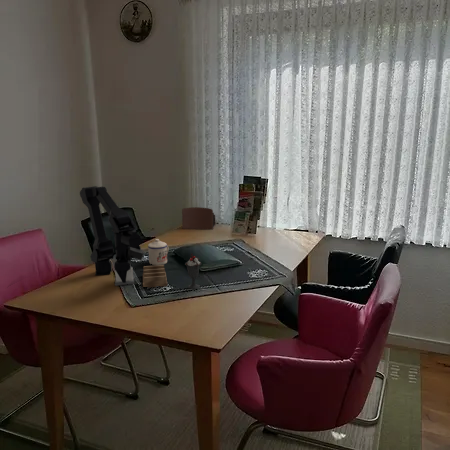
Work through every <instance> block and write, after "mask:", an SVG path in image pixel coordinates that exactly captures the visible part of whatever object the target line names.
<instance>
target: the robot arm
mask: <svg viewBox="0 0 450 450" xmlns="http://www.w3.org/2000/svg"><path fill="white" fill-rule="evenodd" d="M79 195H80V198H81V200H82V204H83V205H85V206H86V208H87V209H88V213H89V217H90V223H91V227H92V231H93V234H94V242H93V244H92V248H93V251H92V252H91V255H90V256H89V257H90V261H92V262H93V263H94V265H95V267H94V268H95V276H104V275H111V272H112V271H113V266H112V264H113V263H112V261H111V260H112V259H114V253H115V260H116V261H115V262H114V272H115V271H116V272H117V273H118V275H119V277H120V278H121V280H122V282H123V283H125V282H126V276H127V271H128V270H130V269H131V267H132V266H131V260H132V259H135V260H138V261H142V259H143V256H144V254H145V253H144V250H143V249H142V247H141V244H142V237H141V236H140V234H138V233H137V231H136V227H135V224H134V222H133V220H132V218H131V216H130V215H129V213H128V212H127V211H126V210H125V209H123V208H120V207H119V206H118V205H117V203H116V202H115V201H114V199H113V198H112V196H111V195H110V193H109V192H108V191H107V188H106V187H105V186H97V185H94V186H93V185H92V186H86V187H82V188H81V190H79ZM100 204H101V206H102V207H103V209H104V210H105V212H106V213H107V214H108V221H109V224H110V225H111V227H112V229H111V232H113V235H114V236H113V237H114V244H113V241H112V240H111V239H109V238H108V237H107V234H106V230H105V225H104V220H103V216H102V212H101V207H100Z"/></svg>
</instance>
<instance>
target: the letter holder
mask: <svg viewBox="0 0 450 450" xmlns="http://www.w3.org/2000/svg"><path fill="white" fill-rule="evenodd" d="M213 211H214V210H213V209H212V208H210V207H199V206H197V207H195V206H194V207H185V208H182V209H181V213H182V216H181V219H182V220H181V221H182V226H181V227H182V230H214V229H215V227H216V225H217V223H216V214H215V212H213Z"/></svg>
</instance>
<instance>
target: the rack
mask: <svg viewBox="0 0 450 450" xmlns="http://www.w3.org/2000/svg"><path fill="white" fill-rule="evenodd" d="M142 268H143V273H142V288H143V287H148V288H157V287H156V286H160V287H168V285H169V284H168V280H167V273H166V270H165V269H166V267H165V264H163V265H146V266H145V265H144V266H143V267H142Z"/></svg>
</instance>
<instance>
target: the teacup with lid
mask: <svg viewBox="0 0 450 450" xmlns="http://www.w3.org/2000/svg"><path fill="white" fill-rule="evenodd" d="M147 248H148V261H149V264H150V265H151V264H152V265H151V266H156V265H165V264H167V263H168V253H169V246H168V244H167V243H166V242H164V241H161V240H160V239H159V238H156V239H154V241H152V242H150V243H148V244H147Z"/></svg>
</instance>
